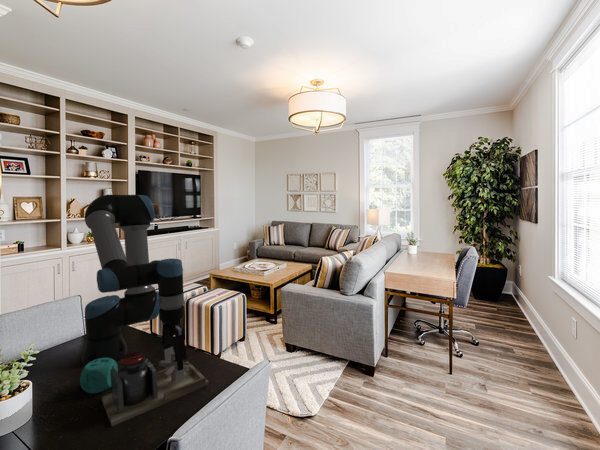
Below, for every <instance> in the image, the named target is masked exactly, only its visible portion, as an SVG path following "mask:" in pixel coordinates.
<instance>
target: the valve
mask: <svg viewBox="0 0 600 450" xmlns="http://www.w3.org/2000/svg"><path fill="white" fill-rule="evenodd" d="M120 365H121V366H123V367H122V368H121V369H120V370H118V373H117V371H116V370H115V368H114V369H111V370H110V373H111V387H110V390H111V393H112V399H113V401H114V403H115V405H116V408H117V410H118V412H119V414H120V413H122V412H124V406H133V405H136V404H139V403H141V402H143V401H144V400H146V399H147V398H148V396H149V393H150V395H151V396H152V398H153V399H156V398H158V390H157V372H158V371H157V368H156V367H155V366H154V365H153V364H152V362H151V361H150V359H149V358H148V357H146V358H145V353H144V352H142V351H136V352H134V351H133V352H130V353H127V354H126V355H125V356H123V357H122V358H121V359H120Z"/></svg>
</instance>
